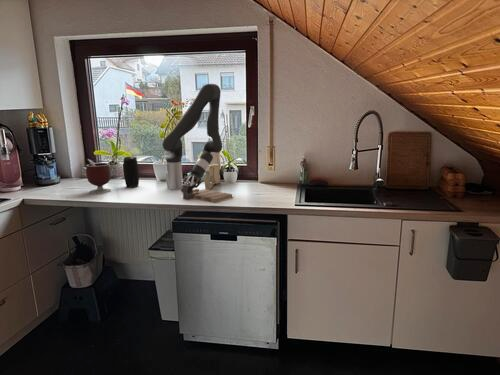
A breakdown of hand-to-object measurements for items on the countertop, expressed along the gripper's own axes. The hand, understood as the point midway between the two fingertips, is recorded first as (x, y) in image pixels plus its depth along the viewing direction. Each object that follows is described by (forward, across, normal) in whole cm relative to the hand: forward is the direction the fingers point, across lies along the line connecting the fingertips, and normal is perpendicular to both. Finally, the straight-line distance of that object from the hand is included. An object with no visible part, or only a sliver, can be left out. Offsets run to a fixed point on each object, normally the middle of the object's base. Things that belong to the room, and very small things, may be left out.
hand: (185, 192), depth 201 cm
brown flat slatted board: (-5, +8, +11) cm, 14 cm away
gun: (-22, -13, +28) cm, 38 cm away
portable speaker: (+2, -55, +5) cm, 55 cm away
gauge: (-1, 0, +6) cm, 6 cm away
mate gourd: (+17, -59, -10) cm, 62 cm away
